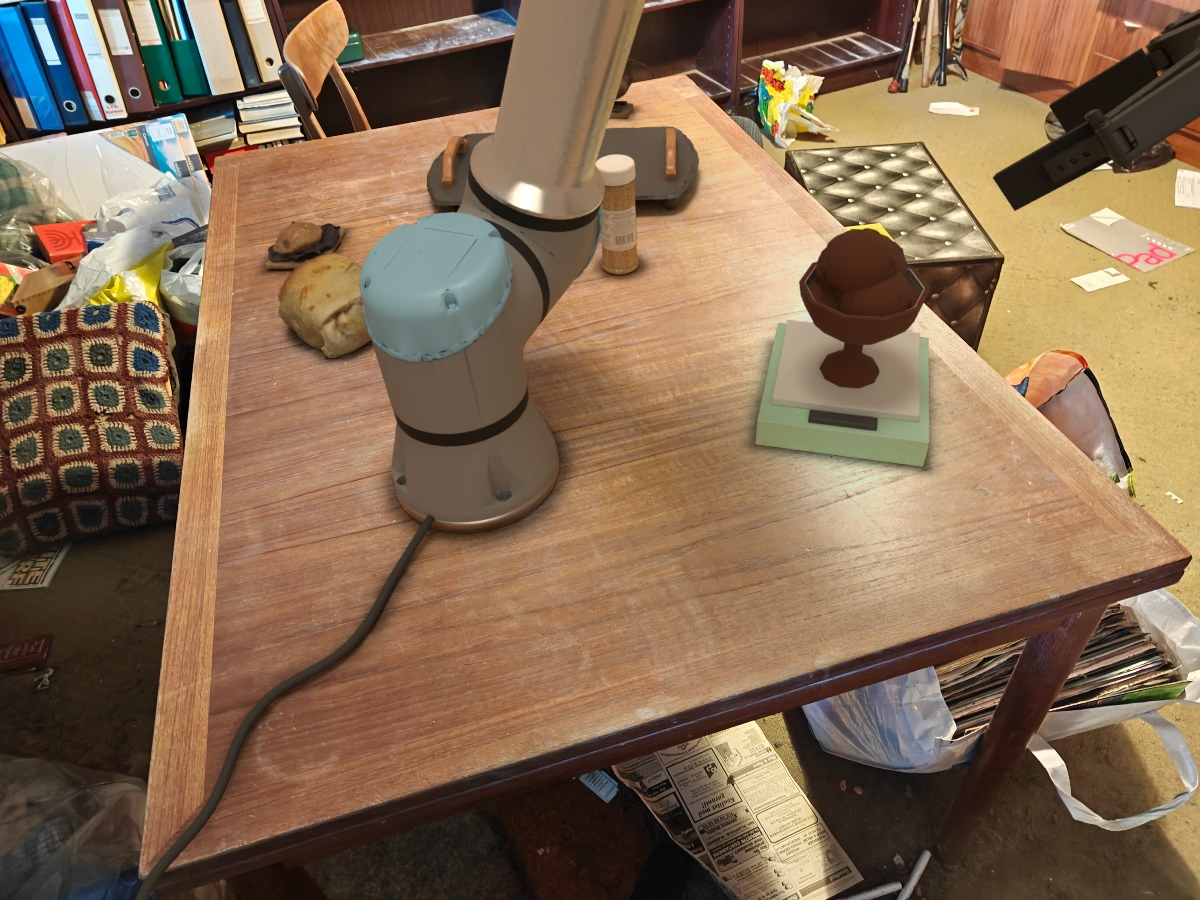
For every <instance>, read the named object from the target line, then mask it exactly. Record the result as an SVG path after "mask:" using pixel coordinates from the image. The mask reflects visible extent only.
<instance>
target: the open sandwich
mask: <svg viewBox="0 0 1200 900" xmlns="http://www.w3.org/2000/svg"><path fill="white" fill-rule="evenodd" d="M345 234H346V229H345V228H343V227H342V228H341V225H338V226H337V225H334V224H332V223H331V222H328V223H325V224H321V225H319V224H315V223H313V222H308V221H307V222H306V221H298V222H295V221H292V222H290V224H288V225H286V226H284V227H283V228H282V230H281V231H280V232H279V234H278V236H277V238H276V240H275V243H274V244H272V245H269V247H268V248H267V253H268V255H267V256H268V259H267V261H266V262H265V264H264V265H265V269H266V270H271V269H275V270H277V269H278V270H280V269H281V270H286V269H289V270H290V269H292V270H295V269H296V268H297V267H298V266H300V265H301V264H302V263H303V262H304V261H306V260H310V259H314V258H316V257H317V256H322V255H325V254H326V253H328V252H336V249H337V248H338V246H339V244H341V243H342V242H341V241H342V240H343V238H344V236H345Z"/></svg>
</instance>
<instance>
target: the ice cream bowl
mask: <svg viewBox="0 0 1200 900" xmlns="http://www.w3.org/2000/svg"><path fill="white" fill-rule="evenodd" d="M798 285H799V293H800V297H801V300H802V303H803V305H804V307H805V310H806V312H807V313H808V315H809V317H810V319H811V322H813V323H814V324H815V326H816V327H817V328H819V329H820V330H821V331H822V332H823V333H825V334H827V335H829V336H831V337H833V338H835V339H837V340H840V341H842V342H844V348H843V350H839V351H836V352H833V353H831V354H828V355H827V356H826V358H825V359H824V361H823V363H822V364H821V366H820V368H819V369H820V371H821V373H822V375H823V377H824V379H825V380H827V381H829V382H831V383H833V384H835V385H837V386H839V387H846V388H862V387H865V386H867V385H870V384H873V383H875V381H876V379H877V377H878V375H879V373H880V372H879V368H878V366H877V364H876V362H875V361H874V359H873V358H872V357H870V356H868V355H866V354H864V353H862V350H863V345H872V344H875V343H878V342H881V341H884V340H887V339H890V338H892V337H895V336H897V335H899V334H901V333H903V332H907V331H908V329H909V328H910V327H911V326H912V325H913V324H914V323H915V321H916V319H917V318H918V315H919V313H920V311H921V309H922V308H923V306H924V303H925V301H926V299H927V297H928V295H929V294H930V291H931V287H930V286H929V284H928V283H927V282H926V280H925V279H924V278H923V276H922V275H921V273H919V271H918V270H917V268H915V267H913V266H911V265H909V264H908V261H907V259H906V256H905V251H904V248H903V247H902V246H900V245H899V244H898V243H897V242H896V241H894V240H892V239H891V238H890V237H889V236H887V235H885V234H883V233H881V232H880V231H879V230H877V229H874V228H870V227H865V228H851V229H849V230H846V231H844V232H842V233H840V234H837V235H836V236H834V237H833V238H831V239H830V241H828V242H827V244H826V247H825V248H824V249H822V250H821V252H820V253H819V256H818V258H817V260H816V261H814V262H812V263H811V264H810V266H809V267H808V268H807V270H805V272H804V274H803V275H802V277H801V278H800V280H799V281H798Z"/></svg>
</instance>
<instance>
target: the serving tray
mask: <svg viewBox="0 0 1200 900" xmlns="http://www.w3.org/2000/svg"><path fill="white" fill-rule="evenodd" d="M492 134H495V132H481V133H480V132H479V133H478V132H476V133H468V134H467V133H466V134H465V135H462V136H461V135H454V136H452V137H450V139H449V140H448V142H447V144H446V146H445V149H443V150H442V151H441V152H440V153H439V155H437V157H435V158H434V160H433V161H432V163H431V165H430V167H429V170H428V172H427V174H426V188H427V189H426V190H427V192H428V194H429V195H430V199H431V202H432V203H433V204H434V205H435V206H437V207H438V211H439V213H452V212H453V213H454V212H455V206H460V205H461V203H462V200H463V196H464V190H465V185H466V179H467V174H468V169H469V164H470V157H471V154H472V151H473V149H474V147H475V146H476V145H477V144H478V142H480V141H481V140H482V139H484V138H486V137H488V136H490V135H492ZM608 155H625V156H629V157H630V158H632V159H633V160H634V163H635V181H634V191H635V201H647V200H648V201H650V200H651V201H652V200H653V201H654V200H662V204H663V205H664V207H665V209H666V210H668V211H673V210H676V209H677V206H678V205H679V202H680V199H679V197H680V196H682V195H683V194H684V193H685V192H686V191H687V190H688V189H689V188H690V185H691V184H692V183H693V182H694V180H695V179H696V177H697V171H698V168H699V164H700V158H699V153H698V151H697V150H696V148H695V145H694V143H693V142H692V140H691V139H690V138H689V137H688V136H687V135H686V134H685V133H683V131H682V130H681V129H679V128H676V127H675V126H668V125H667V126H666V125H665V126H664V125H663V126H662V125H661V126H639V127H634V126H633V127H608V128H607V127H606V131H605V134H604V137H603V140H602V143H601V147H600V150H599V153H598V156H597V160H599V159H600V158H602V157H605V156H608ZM597 160H596V161H597Z"/></svg>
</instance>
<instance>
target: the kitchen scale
mask: <svg viewBox="0 0 1200 900" xmlns="http://www.w3.org/2000/svg"><path fill="white" fill-rule="evenodd" d="M929 346H930V342H929V337H925V336H924V337H923V336H921V334H920V332H914V331H905V332H903V333H901V334H899V335H897V336H895V337H892V338H890V339H887V340H884V341H881V342H878V343H875V344H872V345H863V350H862V353H864V354H866V355H868V356H870V357H872V358H873V359H874V361H875V362H876V364H877V366H878V368H879V372H880V373H879V375H878V377H877V379H876V381H875V383H873V384H870V385H867V386H865V387H862V388H846V387H839V386H837V385H835V384H833V383H831V382H829V381H827V380H825V379H824V377H823V375H822V373H821V371H820V369H819V368H820V366H821V364H822V363H823V361H824V359H825V358H826V356H827V355H828V354H831V353H833V352H836V351H839V350H843V348H844V342H842V341H840V340H837V339H835V338H833V337H831V336H829V335H827V334H825V333H823V332H822V331H821V330H820V329H819V328H817V327H816V326H815V324H814V323H813V321H804V320H803V321H802V320H792V319H787V322H786V323H785V322H777V324H776V329H775V334H774V340H773V344H772V347H771V352H770V353H771V354H770V358H769V363H768V367H767V373H766V377H765V381H764V385H763V392H762V396H761V401H760V406H759V410H758V415H757V419H756V431H755V441H754V442H755V443H754V444H755V445H758V446H765V447H772V448H779V449H786V450H794V451H801V452H809V453H815V454H816V453H817V454H824V455H832V456H839V457H847V458H855V459H862V460H867V461H868V460H869V461H877V462H883V463H891V464H898V465H905V466H913V467H920V468H923V467H924V464H925V461H926V457H927V453H928V450H929V446H930V443H931V442H930V353H929V352H930V347H929Z"/></svg>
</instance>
